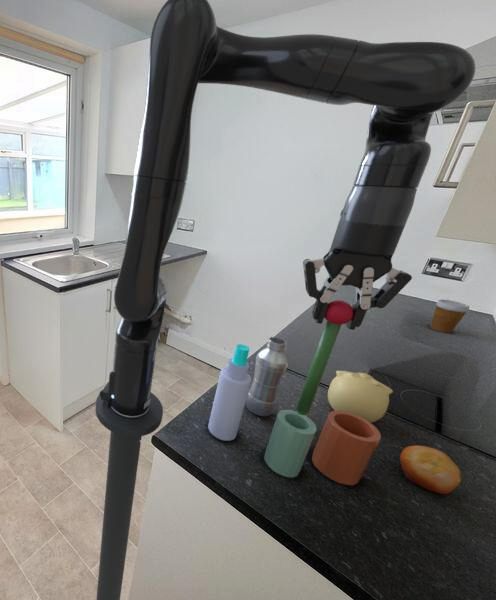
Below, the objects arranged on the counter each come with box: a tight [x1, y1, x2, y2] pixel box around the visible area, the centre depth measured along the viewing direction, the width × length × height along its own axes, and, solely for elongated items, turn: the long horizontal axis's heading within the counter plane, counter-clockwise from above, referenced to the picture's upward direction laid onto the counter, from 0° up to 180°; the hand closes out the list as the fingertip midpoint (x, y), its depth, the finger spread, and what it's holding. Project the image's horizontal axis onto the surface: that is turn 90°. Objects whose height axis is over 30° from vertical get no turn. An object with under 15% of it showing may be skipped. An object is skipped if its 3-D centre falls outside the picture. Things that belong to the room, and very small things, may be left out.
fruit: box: [399, 444, 462, 495], centre depth 60 cm, size 8×8×8 cm
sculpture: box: [327, 370, 394, 424], centre depth 77 cm, size 11×12×11 cm
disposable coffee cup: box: [430, 299, 470, 334], centre depth 129 cm, size 10×10×12 cm
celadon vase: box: [263, 409, 317, 478], centre depth 61 cm, size 6×6×11 cm
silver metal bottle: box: [245, 336, 289, 417], centre depth 74 cm, size 6×7×20 cm
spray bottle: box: [207, 344, 252, 442], centre depth 67 cm, size 6×6×22 cm
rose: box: [295, 299, 354, 416], centre depth 55 cm, size 4×4×23 cm
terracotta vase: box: [311, 410, 382, 486], centre depth 61 cm, size 8×8×11 cm
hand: (333, 324), depth 52 cm, fingers closed on rose, 4 cm apart
